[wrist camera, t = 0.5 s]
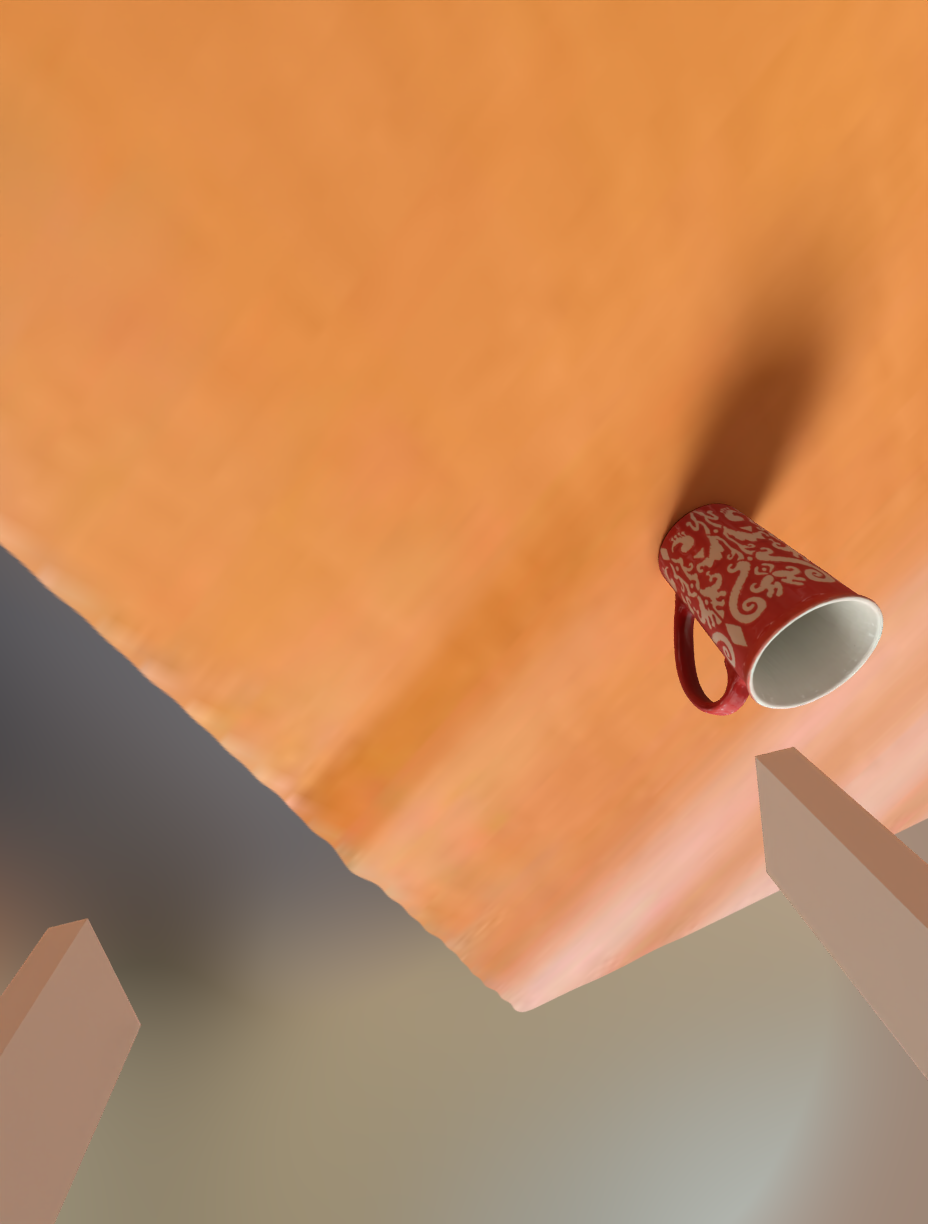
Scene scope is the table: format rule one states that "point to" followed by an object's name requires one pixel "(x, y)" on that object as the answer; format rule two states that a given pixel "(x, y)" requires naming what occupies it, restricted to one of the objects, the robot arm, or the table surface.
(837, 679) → the mug
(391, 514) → the table surface
